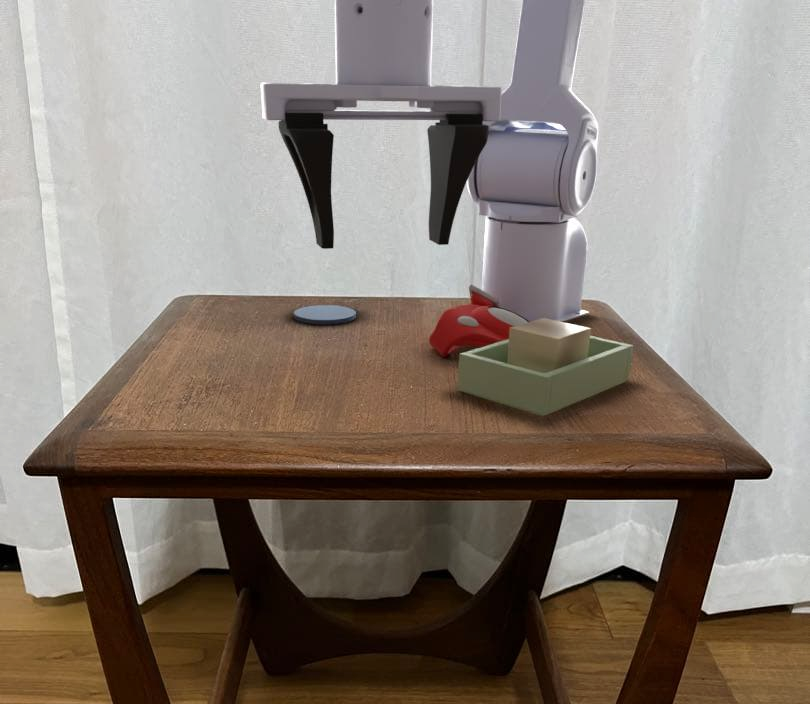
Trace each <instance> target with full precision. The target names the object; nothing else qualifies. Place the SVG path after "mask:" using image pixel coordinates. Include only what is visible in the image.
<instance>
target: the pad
mask: <svg viewBox="0 0 810 704" xmlns="http://www.w3.org/2000/svg"><path fill="white" fill-rule="evenodd" d="M356 317H357V311H356V310H354V309H353V308H351V307H347V306H342V305H335V304H334V305H331V304H319V305H318V304H317V305H309V306H304V307H299V308H297V309H295V310H294V311H293V318H294V319H295V320H296V321H298V322H300V323H304V324H310V325H338V324H345V323H349V322H352V321H353V320H356Z"/></svg>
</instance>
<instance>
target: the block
mask: <svg viewBox="0 0 810 704" xmlns="http://www.w3.org/2000/svg"><path fill="white" fill-rule="evenodd" d="M591 332H592V328H590V327H587V326H583V325H579V324H574V323H573V324H572V323H570V322H569V323H568V322H566V321H564V322H560V321H555V320H551V319H546V318H542V319H538V320H535V321H531V322H528V323H524V324H521V325H517V326H514V327H511V328H510V331H509V344H508V358H507V364H511V365H514V366H518V367H522V368H526V369H529V370H533V371H537V372H541V373H544V374H545V373H548V372H551V371H553V370H556V369H559V368H562V367H564V366H567V365H570V364H573V363H576V362H578V361H581V360H584V359H587V358H588V351H589V342H590V336H591Z"/></svg>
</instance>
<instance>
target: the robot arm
mask: <svg viewBox="0 0 810 704" xmlns="http://www.w3.org/2000/svg"><path fill="white" fill-rule="evenodd" d="M585 5H586V0H521V7H520V15H519V21H518V29H517V34H516V35H517V37H516V42H515V43H516V44H515V51H514V58H513V65H512V73H511V78H510V84H509V85H508V87H506V88H505V90H503V91H502V89H503V88H502V86H491V85H447V84H446V85H444V84H443V85H441V84H439V85H438V84H432V66H433V65H432V61H433V60H432V59H433V26H434V25H433V24H434V21H433V20H434V0H334V47H335V53H334V54H335V83H322V82H321V83H320V82H317V83H312V82H311V83H310V82H261V83H260V97H261V111H262V112H261V115H262V116H261V117H262V119H263V120H266V121H278V130H279V133H280V136H281V138H282V141H283V143H284V144H285V147H286V149H287V151H288V153H289V155H290V158H291V160H292V163H293V165H294V166H295V170H296V172H297V174H298V177H299V180H300V182H301V185H302V188H303V190H304V194H305V198H306V200H307V203H308V207H309V211H310V215H311V219H312V223H313V228H314V234H315V235H314V236H315V242H316V243H315V244H316V245H317V246H318V247H320V248H321V249H323V250H324V249H325V250H326V249H327V250H328V249H329V250H330V249H334V243H335V241H334V240H335V228H334V227H335V226H334V216H333V201H332V174H333V173H332V172H333V170H332V169H333V151H334V137H335V135H334V133H333V132H332V131H331V130H330V129H329V128H328V127H329V124H328V123H324V122H325V121H327V120H331V121H332V120H333V121H335V120H337V121H339V120H341V121H343V120H344V121H345V120H347V121H348V120H349V121H351V120H352V121H353V120H355V121H364V120H365V121H439V122H435V124H433V125H431V124H430V125H429V126H428V127H427V130H426V131H427V132H426V133H427V140H428V152H429V169H430V171H429V172H430V193H429V194H430V195H429V209H428V211H429V212H428V239H429V241H431V242H433V243H435V244H436V245H437V246H443V245H444V246H446V245H449V242H450V238H451V232H452V229H453V224H454V220H455V217H456V213H457V209H458V206H459V203H460V200H461V198H462V194H463V192H464V189H465V187H467V191H468V194H469V195H470V198H471V200H472V202H473V203H474V205H475V206H476V207H478V215H479V216H484V217H485V223H484V225H485V226H484V242H483V243H484V244H483V261H482V278H481V290H482V291H484V292H486V293H488V294H490V295H491V296H493V297H495V298H497V299H498V300H499V306H500V308H504V309H507V310H509V311H512V312H514V313H516V314H518V315H520V316H522V317H524V318H525V319H527V320H528V321H529V322H531V321H535V320H538V319H542V318H546V319H551V320H555V321H560V322H567V321H571V320H574V319H578V318H580V317H583V316H586V315H589V314H590V312H589V311H588V310H585V309H582V301H583V293H584V284H585V276H586V268H587V267H586V266H587V259H588V238H587V235H586V232H585V229H584V227H583V225H582V224H581V223H580V222H579V220H577V219H576V218H577V217H578V215H579V214H581V213H582V212H583V210H584V209H585V208H586V207H587V206H588V204H589V202H590V201H591V198H592V196H593V193H594V189H595V186H596V182H597V174H598V153H597V151H598V141H599V140H598V139H599V123H598V121H597V118H596V116H595V115H594V113H593V112H592V110H591V109H589V107H587V105H585V103H583V102H582V100H581V99H579V98H578V96H577V95H576V94H575V93H574V92H573V91H572V86H573V81H574V75H575V74H574V73H575V67H576V61H577V56H578V55H577V54H578V48H579V42H580V36H581V30H582V23H583V17H584V10H585V9H584V8H585ZM358 102H408V107H409V108H417V109H428V110H373V109H372V110H362V109H361V110H360V109H359V110H356V109H355V110H354V109H353V108H357V107H358ZM337 108H343V109H344V110H343V109H337ZM345 108H346V109H345ZM347 108H349V109H347ZM350 108H351V109H352V110H351V109H350ZM324 120H325V121H324ZM522 130H529V131H530V132H529V131H522ZM531 131H546V132H531ZM547 131H549V132H566V133H547Z"/></svg>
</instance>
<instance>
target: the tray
mask: <svg viewBox="0 0 810 704" xmlns="http://www.w3.org/2000/svg"><path fill="white" fill-rule="evenodd" d="M508 344H509V339H507V340H504V341H501V342H497V343H494V344H491V345H487V346H484V347H478V348H475V349H471V350H468V351H465V352H460V353H459V355H458V356H459V357H458V376H457V377H458V378H457V391H460V392H462V393H466V394H469V395H473V396H476V397H480V398H482V399H486V400H489V401H492V402H496V403H500V404H502V405H506V406H510V407H513V408H516V409H519V410H523V411H526V412H529V413H532V414H535V415H539V416H542V417H544V416H547V415H549V414H552V413H554V412H556V411H559V410H561V409H563V408H566V407H569V406H571V405H573V404H575V403H578V402H581V401H583V400H585V399H588V398H590V397H592V396H594V395H597V394H599V393H602V392H604V391H607V390H610V389H611V388H614V387H617V386H619V385H622V384H623V383H626V382H628V381H630V380H629V379H630V375H631V368H632V359H633V353H634V345H633V344H629V343H624V342H619V341H615V340H611V339H607V338H602V337H599V336H598V337H597V336H593V335H590V342H589V351H588V358H587V359H584V360H581V361H578V362H576V363H573V364H570V365H567V366H564V367H562V368H559V369H556V370H553V371H551V372H548V373H545V374H544V373H541V372H537V371H533V370H529V369H526V368H522V367H518V366H514V365H511V364H507V358H508Z"/></svg>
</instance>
